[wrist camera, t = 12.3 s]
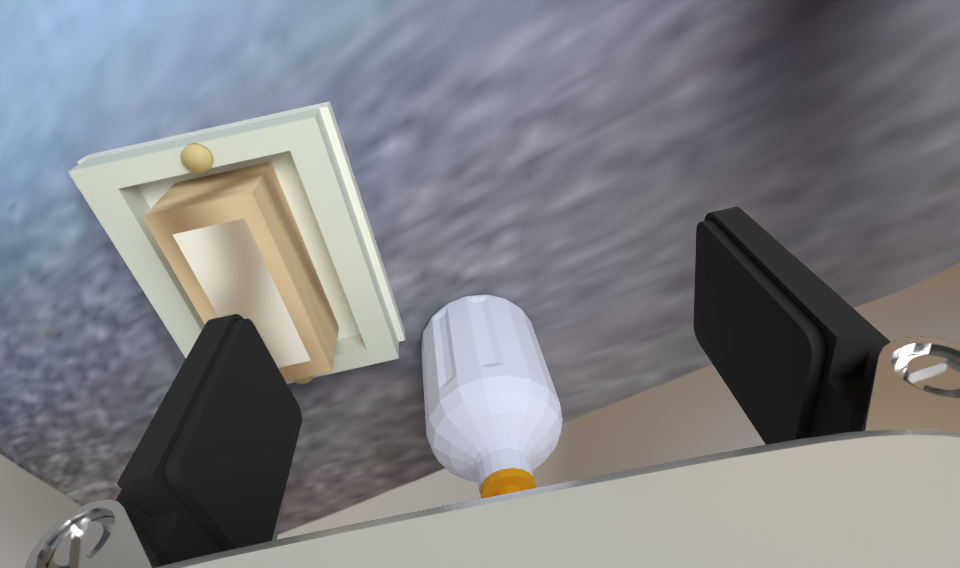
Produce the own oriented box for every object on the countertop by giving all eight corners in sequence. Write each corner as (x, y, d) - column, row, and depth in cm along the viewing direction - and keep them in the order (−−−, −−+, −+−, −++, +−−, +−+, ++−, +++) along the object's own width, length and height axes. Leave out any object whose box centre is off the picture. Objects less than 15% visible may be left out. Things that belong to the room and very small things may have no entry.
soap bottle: (553, 336, 45) (686, 668, 24) (472, 397, 47) (530, 746, 27) (483, 270, 41) (571, 605, 20) (397, 341, 43) (398, 704, 23)
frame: (271, 161, 33) (252, 193, 29) (338, 326, 40) (332, 371, 36) (174, 182, 33) (142, 217, 29) (259, 344, 40) (243, 392, 36)
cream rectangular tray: (329, 100, 33) (322, 116, 30) (405, 331, 43) (405, 360, 40) (86, 154, 33) (55, 175, 30) (218, 373, 43) (204, 406, 40)
